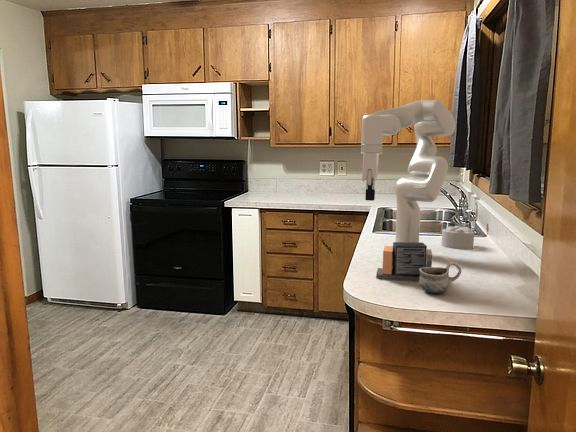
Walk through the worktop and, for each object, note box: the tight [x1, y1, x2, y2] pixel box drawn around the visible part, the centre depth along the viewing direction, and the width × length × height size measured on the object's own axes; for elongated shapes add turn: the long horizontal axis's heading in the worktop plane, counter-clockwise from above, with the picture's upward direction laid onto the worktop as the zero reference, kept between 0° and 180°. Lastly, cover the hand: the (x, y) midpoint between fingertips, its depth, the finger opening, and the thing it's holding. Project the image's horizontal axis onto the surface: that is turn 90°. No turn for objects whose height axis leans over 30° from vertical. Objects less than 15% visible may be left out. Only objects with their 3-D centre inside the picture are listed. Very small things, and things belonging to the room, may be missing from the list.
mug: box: [419, 261, 463, 294], centre depth 150 cm, size 10×12×10 cm
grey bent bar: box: [375, 248, 433, 283], centre depth 165 cm, size 8×18×10 cm, turn 76°
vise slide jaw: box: [382, 245, 393, 274], centre depth 166 cm, size 8×3×8 cm, turn 166°
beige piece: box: [440, 225, 475, 250], centre depth 212 cm, size 10×13×9 cm
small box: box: [392, 241, 428, 276], centre depth 164 cm, size 11×6×10 cm, turn 87°
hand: (369, 200), depth 176 cm, fingers closed
